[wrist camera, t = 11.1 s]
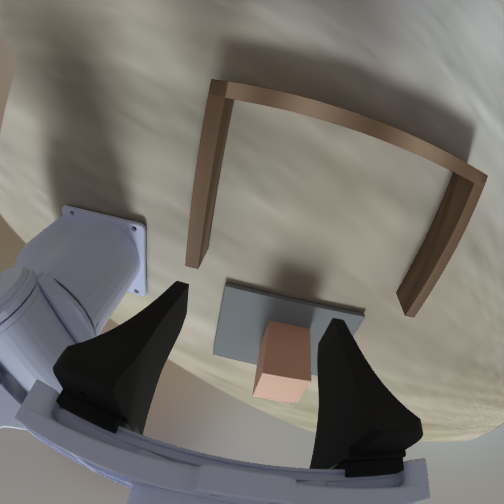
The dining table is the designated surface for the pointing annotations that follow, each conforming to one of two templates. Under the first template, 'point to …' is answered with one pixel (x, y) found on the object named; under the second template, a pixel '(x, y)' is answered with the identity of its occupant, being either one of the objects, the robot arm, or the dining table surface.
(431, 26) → the dining table surface
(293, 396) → the terracotta block
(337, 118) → the open side frame
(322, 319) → the grey mat
